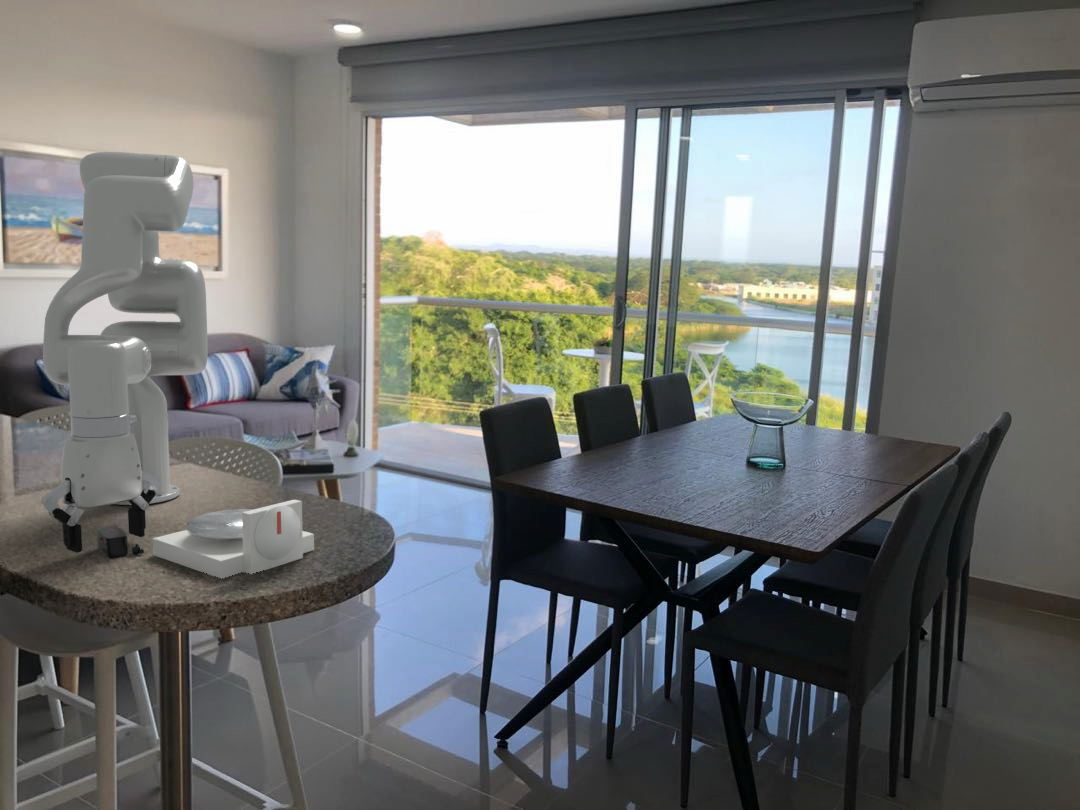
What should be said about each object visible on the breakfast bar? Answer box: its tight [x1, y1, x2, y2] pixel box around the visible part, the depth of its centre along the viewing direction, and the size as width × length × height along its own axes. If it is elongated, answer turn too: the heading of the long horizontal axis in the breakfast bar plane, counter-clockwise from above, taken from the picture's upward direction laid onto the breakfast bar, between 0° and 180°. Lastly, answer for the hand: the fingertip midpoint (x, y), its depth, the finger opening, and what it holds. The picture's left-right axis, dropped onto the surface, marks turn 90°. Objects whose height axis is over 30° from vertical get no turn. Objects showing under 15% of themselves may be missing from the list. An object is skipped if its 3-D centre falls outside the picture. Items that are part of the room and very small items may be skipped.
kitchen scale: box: [152, 499, 315, 580], centre depth 128 cm, size 18×16×9 cm
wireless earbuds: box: [96, 525, 145, 560], centre depth 128 cm, size 5×7×3 cm, turn 41°
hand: (106, 542), depth 128 cm, fingers open, 9 cm apart
